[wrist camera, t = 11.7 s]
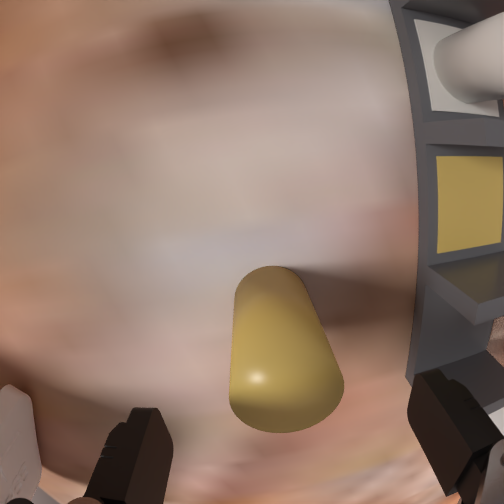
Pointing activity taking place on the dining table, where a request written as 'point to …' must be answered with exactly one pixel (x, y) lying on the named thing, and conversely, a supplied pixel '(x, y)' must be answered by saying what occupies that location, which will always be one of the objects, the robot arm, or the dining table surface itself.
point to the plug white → (473, 61)
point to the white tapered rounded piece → (498, 419)
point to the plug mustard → (280, 355)
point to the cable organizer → (17, 446)
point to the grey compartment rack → (455, 206)
